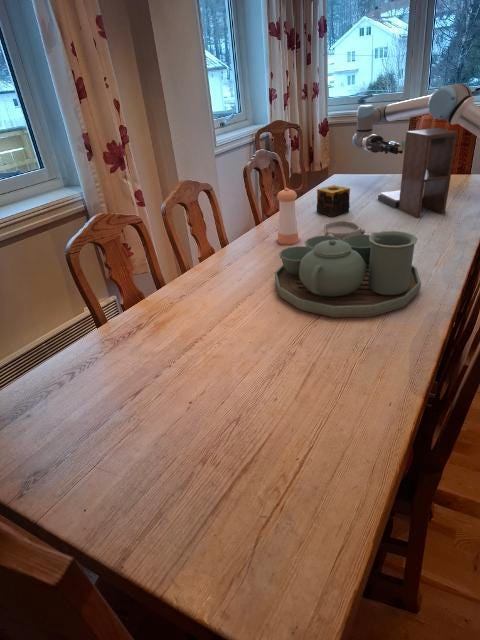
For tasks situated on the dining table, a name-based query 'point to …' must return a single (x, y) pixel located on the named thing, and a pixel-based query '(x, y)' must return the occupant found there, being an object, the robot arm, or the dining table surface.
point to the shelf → (433, 176)
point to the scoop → (402, 146)
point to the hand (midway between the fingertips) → (399, 150)
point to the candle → (333, 200)
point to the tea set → (350, 274)
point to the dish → (342, 229)
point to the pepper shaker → (287, 217)
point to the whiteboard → (390, 198)
